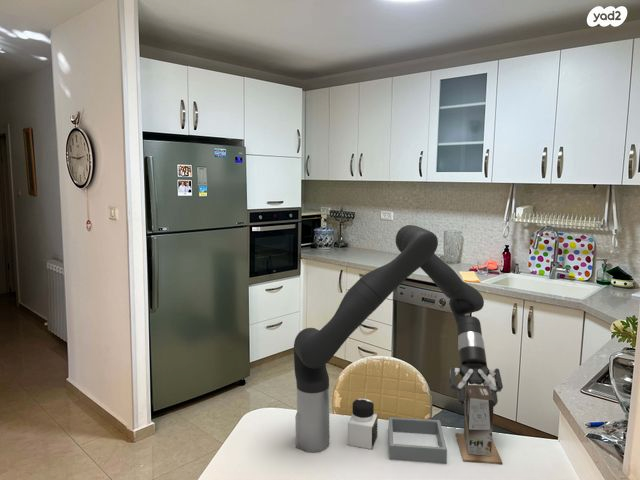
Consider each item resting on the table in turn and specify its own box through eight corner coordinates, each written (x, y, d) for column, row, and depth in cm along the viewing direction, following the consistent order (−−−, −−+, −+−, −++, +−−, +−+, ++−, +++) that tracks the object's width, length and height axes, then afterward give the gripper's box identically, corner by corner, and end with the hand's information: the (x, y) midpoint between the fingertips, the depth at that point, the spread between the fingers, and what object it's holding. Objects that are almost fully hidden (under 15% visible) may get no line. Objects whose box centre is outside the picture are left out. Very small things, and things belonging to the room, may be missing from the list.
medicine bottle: (372, 450, 126) (372, 409, 125) (347, 445, 129) (347, 405, 127) (377, 436, 133) (377, 397, 132) (354, 432, 135) (354, 394, 134)
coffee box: (492, 456, 122) (494, 400, 120) (467, 454, 123) (469, 398, 121) (486, 438, 131) (488, 385, 129) (463, 436, 132) (465, 383, 130)
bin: (389, 459, 122) (389, 445, 122) (388, 429, 137) (388, 417, 136) (446, 463, 120) (447, 449, 120) (439, 432, 135) (440, 420, 134)
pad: (463, 461, 121) (463, 459, 121) (455, 434, 134) (455, 432, 134) (502, 464, 120) (502, 462, 119) (490, 437, 132) (490, 435, 132)
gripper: (448, 343, 135) (453, 398, 125) (499, 346, 133) (507, 401, 123) (446, 354, 140) (450, 407, 131) (493, 356, 138) (501, 410, 129)
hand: (478, 404), depth 127 cm, fingers open, 8 cm apart
